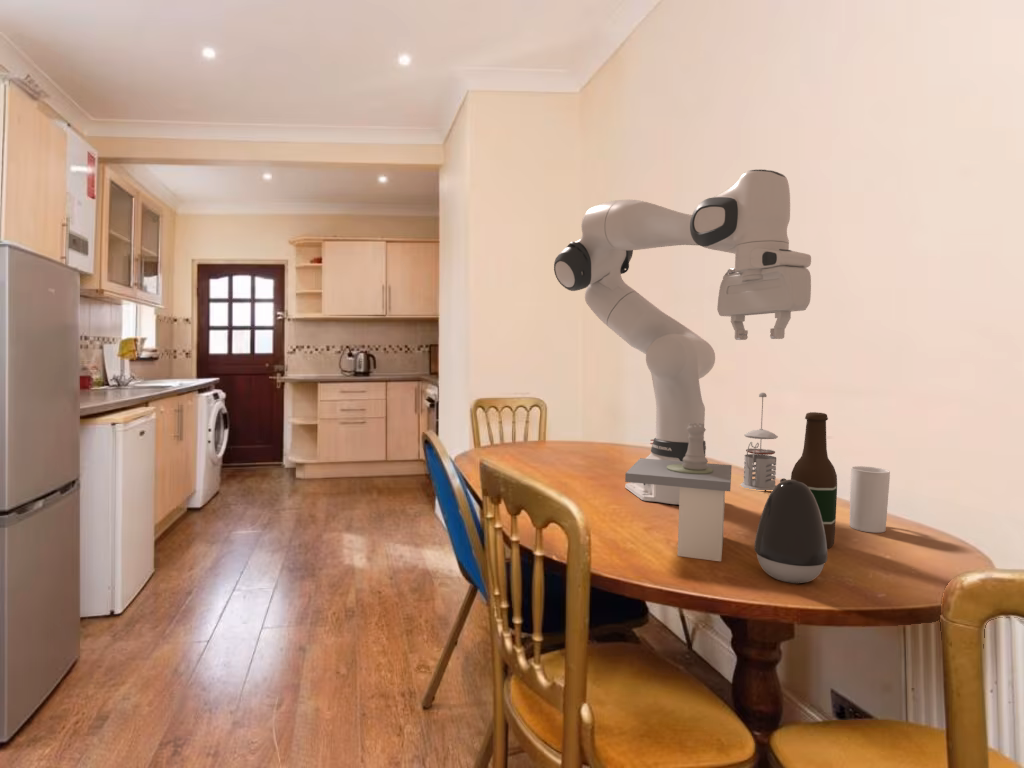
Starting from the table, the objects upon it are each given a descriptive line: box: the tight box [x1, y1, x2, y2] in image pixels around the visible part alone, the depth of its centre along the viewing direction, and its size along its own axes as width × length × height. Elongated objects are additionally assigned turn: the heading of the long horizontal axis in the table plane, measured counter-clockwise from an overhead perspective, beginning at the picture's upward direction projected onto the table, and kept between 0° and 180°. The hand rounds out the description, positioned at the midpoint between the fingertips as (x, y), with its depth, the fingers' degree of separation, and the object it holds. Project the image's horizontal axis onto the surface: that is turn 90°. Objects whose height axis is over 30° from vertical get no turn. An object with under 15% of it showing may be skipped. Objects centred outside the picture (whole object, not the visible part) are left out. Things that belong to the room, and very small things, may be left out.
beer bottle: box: [790, 411, 838, 550], centre depth 111 cm, size 8×8×24 cm
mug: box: [849, 465, 891, 534], centre depth 123 cm, size 10×7×12 cm, turn 150°
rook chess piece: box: [682, 423, 708, 471], centre depth 108 cm, size 4×4×8 cm
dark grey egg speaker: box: [753, 478, 828, 584], centre depth 93 cm, size 10×10×15 cm
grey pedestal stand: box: [624, 457, 733, 562], centre depth 109 cm, size 17×17×14 cm
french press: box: [739, 392, 779, 490], centre depth 158 cm, size 10×12×25 cm
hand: (758, 339), depth 109 cm, fingers open, 8 cm apart
